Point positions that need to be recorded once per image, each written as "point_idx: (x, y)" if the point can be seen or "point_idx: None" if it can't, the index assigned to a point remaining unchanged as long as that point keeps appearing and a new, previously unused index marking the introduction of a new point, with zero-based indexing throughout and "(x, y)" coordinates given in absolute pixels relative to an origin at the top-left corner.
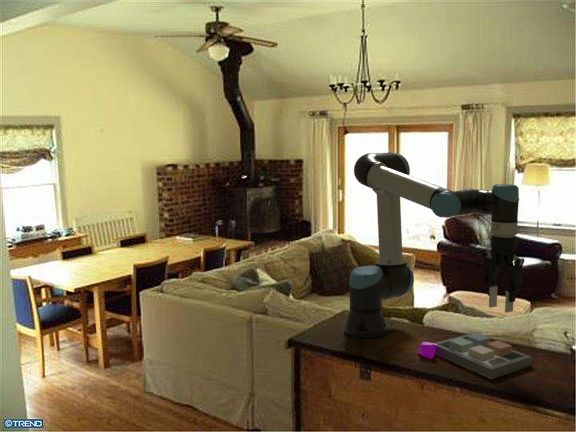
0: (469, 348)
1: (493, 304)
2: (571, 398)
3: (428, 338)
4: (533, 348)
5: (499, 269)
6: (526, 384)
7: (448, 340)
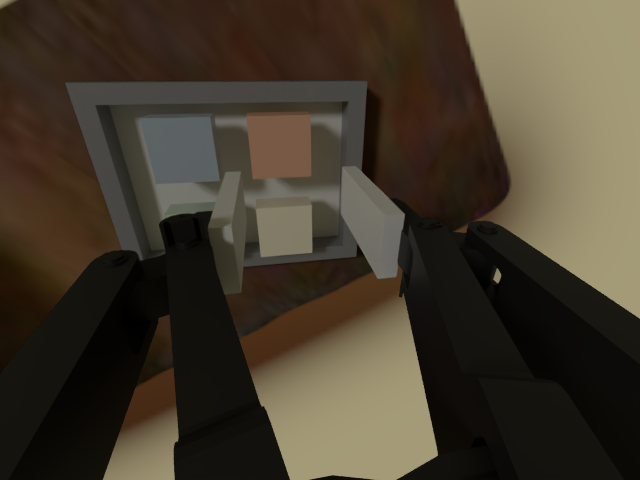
0: (261, 256)
1: (243, 204)
2: (507, 167)
3: (4, 194)
4: None
5: (245, 363)
6: (412, 195)
7: (121, 215)
